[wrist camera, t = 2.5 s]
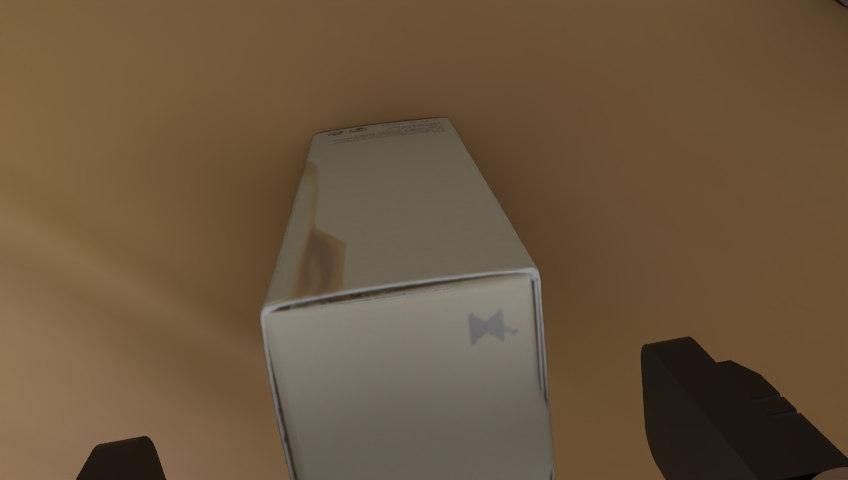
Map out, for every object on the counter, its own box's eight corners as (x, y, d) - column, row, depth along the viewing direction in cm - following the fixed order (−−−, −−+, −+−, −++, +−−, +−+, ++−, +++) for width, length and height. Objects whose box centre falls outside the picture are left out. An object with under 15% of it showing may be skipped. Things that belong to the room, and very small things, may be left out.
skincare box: (309, 131, 22) (243, 285, 10) (452, 113, 22) (544, 245, 10) (341, 323, 24) (317, 630, 12) (471, 305, 24) (566, 593, 13)
